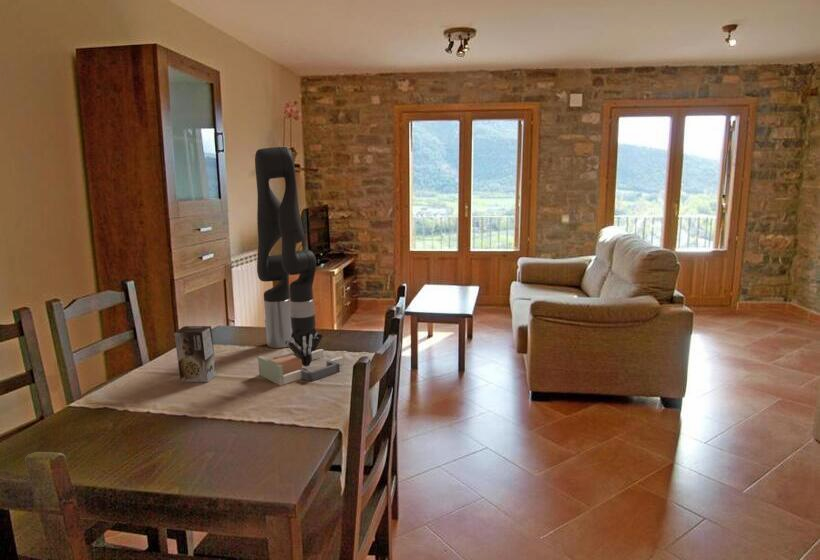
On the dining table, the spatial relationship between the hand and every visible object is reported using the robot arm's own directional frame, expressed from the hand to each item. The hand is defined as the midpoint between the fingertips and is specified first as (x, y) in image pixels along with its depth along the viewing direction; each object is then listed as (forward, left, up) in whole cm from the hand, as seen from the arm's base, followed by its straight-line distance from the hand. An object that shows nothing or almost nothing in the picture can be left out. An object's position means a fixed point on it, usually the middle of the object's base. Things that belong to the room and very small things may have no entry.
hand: (306, 365), depth 171 cm
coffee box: (-18, -27, -1) cm, 33 cm away
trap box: (0, 0, -1) cm, 1 cm away
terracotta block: (-2, -6, -1) cm, 7 cm away
